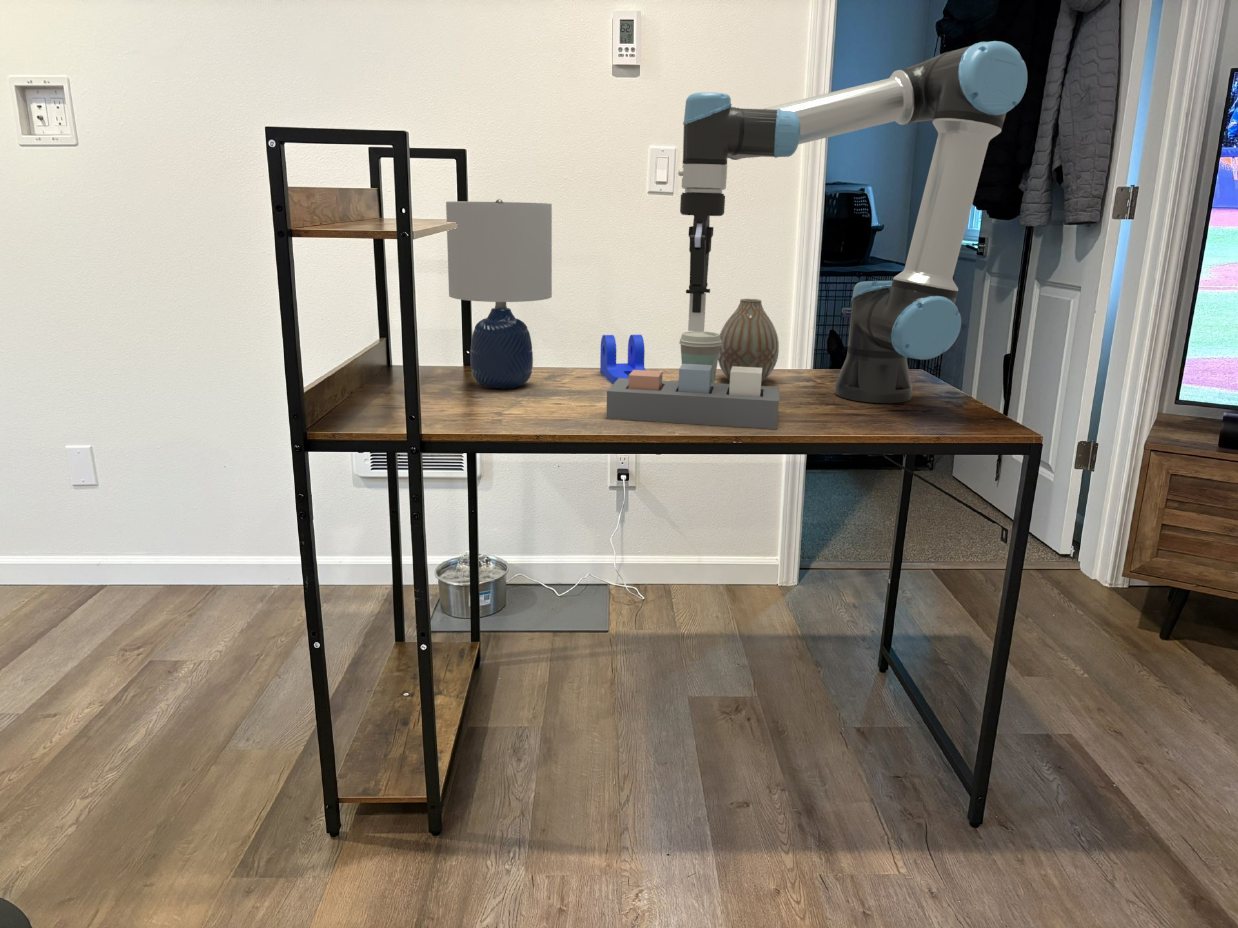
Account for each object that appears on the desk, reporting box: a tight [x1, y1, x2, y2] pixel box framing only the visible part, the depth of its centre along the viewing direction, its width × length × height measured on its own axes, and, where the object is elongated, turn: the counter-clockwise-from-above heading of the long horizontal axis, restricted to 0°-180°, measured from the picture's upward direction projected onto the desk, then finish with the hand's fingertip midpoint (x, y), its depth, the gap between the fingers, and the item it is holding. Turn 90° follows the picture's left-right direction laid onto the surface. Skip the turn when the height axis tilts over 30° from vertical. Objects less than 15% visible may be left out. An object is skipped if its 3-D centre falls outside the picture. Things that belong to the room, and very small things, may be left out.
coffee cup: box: [678, 331, 722, 383], centre depth 182 cm, size 9×8×12 cm
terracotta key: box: [628, 369, 663, 391], centre depth 165 cm, size 5×5×4 cm
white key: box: [729, 366, 762, 397], centre depth 161 cm, size 5×5×4 cm
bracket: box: [599, 334, 646, 385], centre depth 194 cm, size 18×8×9 cm, turn 12°
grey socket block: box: [606, 378, 780, 430], centre depth 164 cm, size 30×12×5 cm, turn 80°
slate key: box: [678, 363, 712, 394], centre depth 163 cm, size 5×5×4 cm
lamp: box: [445, 198, 553, 390], centre depth 181 cm, size 20×20×37 cm
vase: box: [718, 298, 780, 383], centre depth 194 cm, size 13×13×18 cm
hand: (696, 330), depth 160 cm, fingers closed
